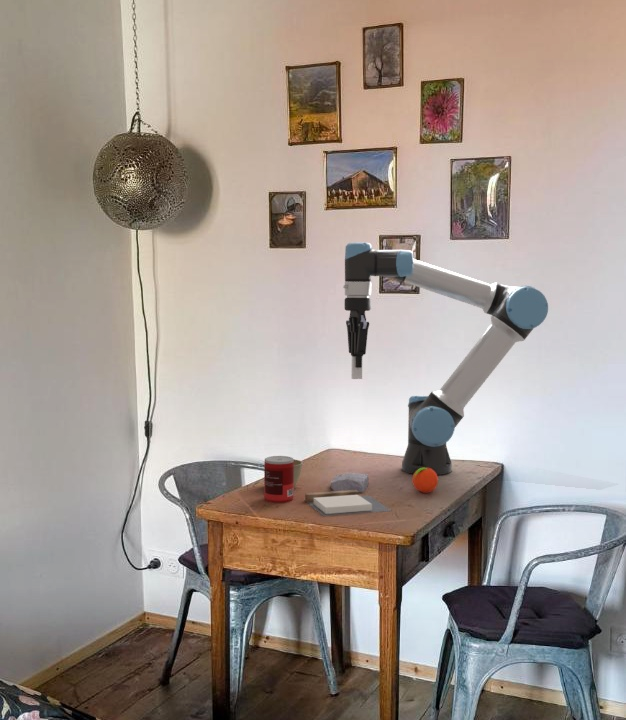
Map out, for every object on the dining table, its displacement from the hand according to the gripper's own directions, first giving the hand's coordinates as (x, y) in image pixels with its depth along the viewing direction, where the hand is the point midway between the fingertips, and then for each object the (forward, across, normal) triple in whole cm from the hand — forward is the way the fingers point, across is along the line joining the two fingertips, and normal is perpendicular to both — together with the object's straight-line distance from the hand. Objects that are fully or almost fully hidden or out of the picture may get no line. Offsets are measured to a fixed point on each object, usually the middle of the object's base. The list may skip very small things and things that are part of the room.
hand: (356, 378), depth 240 cm
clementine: (+30, +21, +12) cm, 38 cm away
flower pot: (+30, +5, -23) cm, 38 cm away
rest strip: (+29, +23, -15) cm, 40 cm away
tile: (+28, +26, -15) cm, 41 cm away
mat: (+29, +29, -13) cm, 43 cm away
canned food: (+30, +18, -28) cm, 45 cm away
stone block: (+30, +10, -6) cm, 32 cm away
